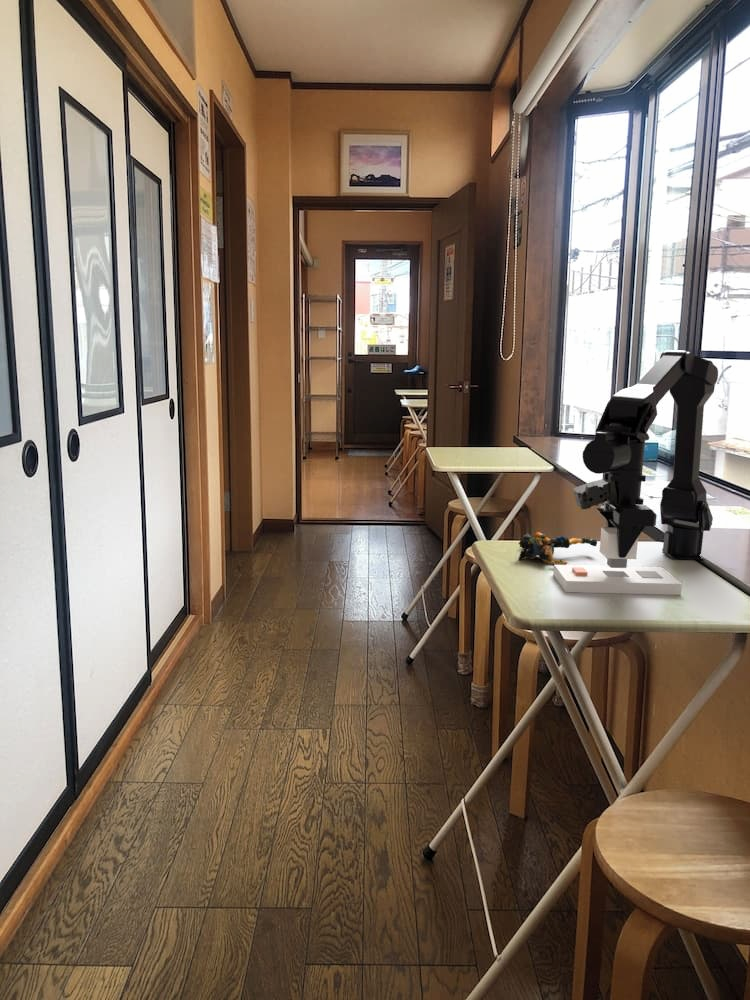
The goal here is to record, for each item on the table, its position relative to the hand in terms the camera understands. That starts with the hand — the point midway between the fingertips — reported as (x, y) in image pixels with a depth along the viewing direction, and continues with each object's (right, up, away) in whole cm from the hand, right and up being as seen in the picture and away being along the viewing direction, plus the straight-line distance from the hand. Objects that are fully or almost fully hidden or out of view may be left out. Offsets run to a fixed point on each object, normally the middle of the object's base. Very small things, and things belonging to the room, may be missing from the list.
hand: (617, 553), depth 145 cm
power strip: (0, -6, +1) cm, 6 cm away
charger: (0, -2, 0) cm, 2 cm away
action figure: (-8, -3, +17) cm, 19 cm away
